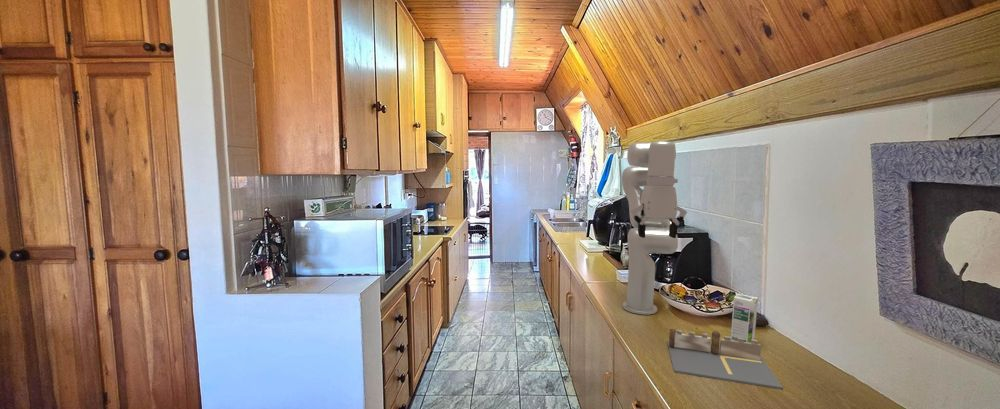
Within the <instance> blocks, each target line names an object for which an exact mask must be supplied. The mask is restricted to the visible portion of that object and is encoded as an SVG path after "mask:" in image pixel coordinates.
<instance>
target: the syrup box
mask: <svg viewBox="0 0 1000 409" xmlns="http://www.w3.org/2000/svg"><path fill="white" fill-rule="evenodd" d="M758 301H759V298H758V297H757V296H750V295H747V294H743V293H736V295H734V296H733V304H732V316H731V329H730V336H729V337H730V338H731V340H734V341H737V339H738V338H743V339H744V342H750V343H751V339H753V340H755V334H756V324H757V314H758V304H759V303H758Z"/></svg>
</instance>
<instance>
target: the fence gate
mask: <svg viewBox="0 0 1000 409" xmlns="http://www.w3.org/2000/svg"><path fill="white" fill-rule="evenodd" d="M668 336H669V338H668V339H669V340H668V341H669V346H671V347H679V348H687V349H694V350H701V351H708V352H710V347H711V342H712V337H709V336H708V333H705V332H701V335H696V334H695V332H694V331H688V333H683V331H682V329H675V328H669V335H668Z"/></svg>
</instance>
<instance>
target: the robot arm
mask: <svg viewBox="0 0 1000 409" xmlns="http://www.w3.org/2000/svg"><path fill="white" fill-rule="evenodd" d="M626 155H627V156H626V159H627V163H628V164H629V166H628V167H625V169H623V171H622V173H621V186H622V190H623V192H624V194H625V197H626V198H627V201H628V209H629V210H628V211H629V212H628V213H629V221H630V224H631V226H632V227H633V228H631V229H629V231H628V232H627V245H628V246H627V248H628V271H627V273H628V274H627V291H626V300H625V301H623V302H622V308H623V309H624V310H625V311H627V312H629V313H633V314H636V315H642V316H643V315H644V316H645V315H646V316H647V315H654V314H656V313H657V312H658V306H656V305H655V304H654V297H655V279H656V278H655V277H656V263H655V261H654V260H653V258H652V257H651V256H650V255H649V254H663V255H664V254H666V255H670V254H674V253H676V251H677V250H678V247H679V238H678V226H679V225H680V223H682V221H684V219H685V217H686V215H687V214H688V212H687V210H686V209H684V208H682V207H680V206H679V205H678V198H677V190H676V186H674V185H675V184H677V183H679V180H678V178H675V164H676V163H675V162H676V158H677V150H676V144H675V143H674V142H673V141H667V140H666V141H665V140H663V141H661V140H660V141H653V142H646V141H645V142H633V143H631V144H630V145H629V147H628V150H627V153H626ZM642 187H643V188H642ZM678 213H679V215H677V214H678Z"/></svg>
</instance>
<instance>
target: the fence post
mask: <svg viewBox="0 0 1000 409" xmlns="http://www.w3.org/2000/svg"><path fill="white" fill-rule="evenodd" d="M730 337H731V336H729V335H724V337H723V338H721V333H720V332H719V331H718V330H713V331H712V332H711V342H710V347H711V354H713V355H718V353H719V348H720V355H724V356H731V357H738V358H745V359H752V360H759V361H760V356H761V351H762V344H761V343H759V341H758V340H757V339H754V340H753V339H751V343H750V342H744V339H743V338H738V339H737V341H734V340H731V338H730Z"/></svg>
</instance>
